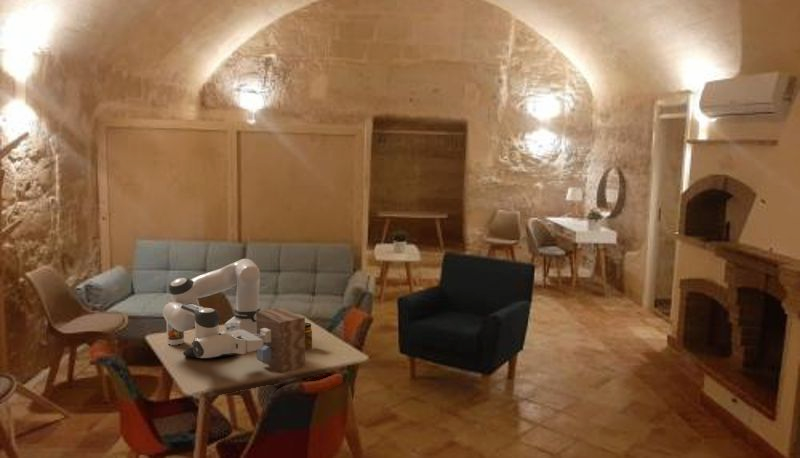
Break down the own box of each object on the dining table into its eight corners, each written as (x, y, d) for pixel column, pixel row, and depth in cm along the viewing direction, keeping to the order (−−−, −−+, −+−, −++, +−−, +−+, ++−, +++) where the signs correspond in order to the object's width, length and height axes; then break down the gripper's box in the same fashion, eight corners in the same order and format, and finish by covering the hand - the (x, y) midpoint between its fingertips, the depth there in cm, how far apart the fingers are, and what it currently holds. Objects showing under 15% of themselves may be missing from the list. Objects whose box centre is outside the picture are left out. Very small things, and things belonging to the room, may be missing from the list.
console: (280, 372, 267) (280, 322, 264) (257, 358, 284) (256, 311, 281) (305, 366, 275) (304, 317, 272) (280, 353, 291) (280, 307, 289)
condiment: (315, 349, 299) (315, 324, 297) (298, 352, 294) (298, 327, 292) (308, 345, 305) (308, 321, 303) (292, 348, 300) (292, 323, 298)
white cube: (265, 342, 271) (265, 331, 270) (260, 339, 274) (260, 328, 274) (276, 340, 274) (276, 329, 273) (270, 337, 278) (270, 326, 277)
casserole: (178, 362, 279) (177, 344, 277) (189, 349, 297) (188, 332, 296) (235, 361, 280) (234, 343, 279) (242, 348, 299) (242, 331, 298)
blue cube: (263, 361, 271) (262, 350, 270) (257, 358, 274) (257, 347, 274) (273, 358, 274) (273, 347, 273) (268, 355, 278) (267, 345, 277)
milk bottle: (163, 344, 303) (162, 304, 301) (175, 340, 310) (173, 300, 308) (176, 346, 300) (174, 306, 298) (187, 341, 307) (186, 302, 305)
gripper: (223, 343, 272) (252, 337, 280) (244, 355, 256) (274, 349, 265) (222, 329, 271) (252, 323, 279) (243, 340, 255) (274, 334, 264)
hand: (263, 336), depth 272 cm, fingers closed
